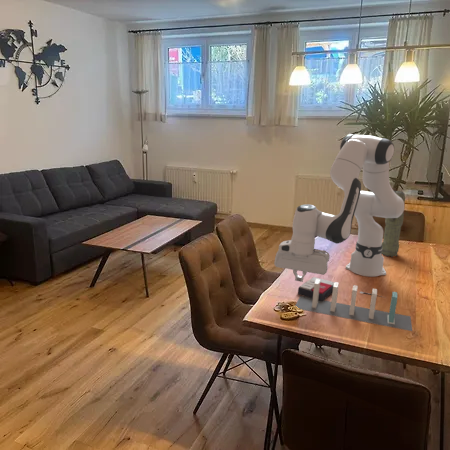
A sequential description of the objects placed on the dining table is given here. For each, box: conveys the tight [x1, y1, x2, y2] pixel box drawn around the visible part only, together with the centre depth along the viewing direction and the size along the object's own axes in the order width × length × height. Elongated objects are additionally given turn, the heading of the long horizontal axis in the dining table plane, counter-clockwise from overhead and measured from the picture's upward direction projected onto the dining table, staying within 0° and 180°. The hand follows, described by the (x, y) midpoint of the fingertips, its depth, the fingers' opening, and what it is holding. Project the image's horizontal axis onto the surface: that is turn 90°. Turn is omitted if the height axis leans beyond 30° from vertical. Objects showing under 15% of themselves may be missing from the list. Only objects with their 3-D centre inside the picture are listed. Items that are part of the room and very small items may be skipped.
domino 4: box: [369, 288, 378, 319], centre depth 157 cm, size 2×5×10 cm, turn 160°
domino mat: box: [294, 295, 413, 332], centre depth 160 cm, size 12×42×1 cm, turn 70°
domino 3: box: [349, 284, 359, 315], centre depth 159 cm, size 2×5×10 cm, turn 160°
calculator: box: [297, 276, 335, 301], centre depth 177 cm, size 11×4×15 cm
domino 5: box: [389, 291, 398, 323], centre depth 154 cm, size 2×5×10 cm, turn 160°
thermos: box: [381, 190, 406, 258], centre depth 228 cm, size 9×12×35 cm
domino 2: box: [330, 281, 340, 312], centre depth 161 cm, size 2×5×10 cm, turn 160°
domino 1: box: [312, 278, 321, 308], centre depth 163 cm, size 2×5×10 cm, turn 160°
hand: (299, 280), depth 164 cm, fingers closed
